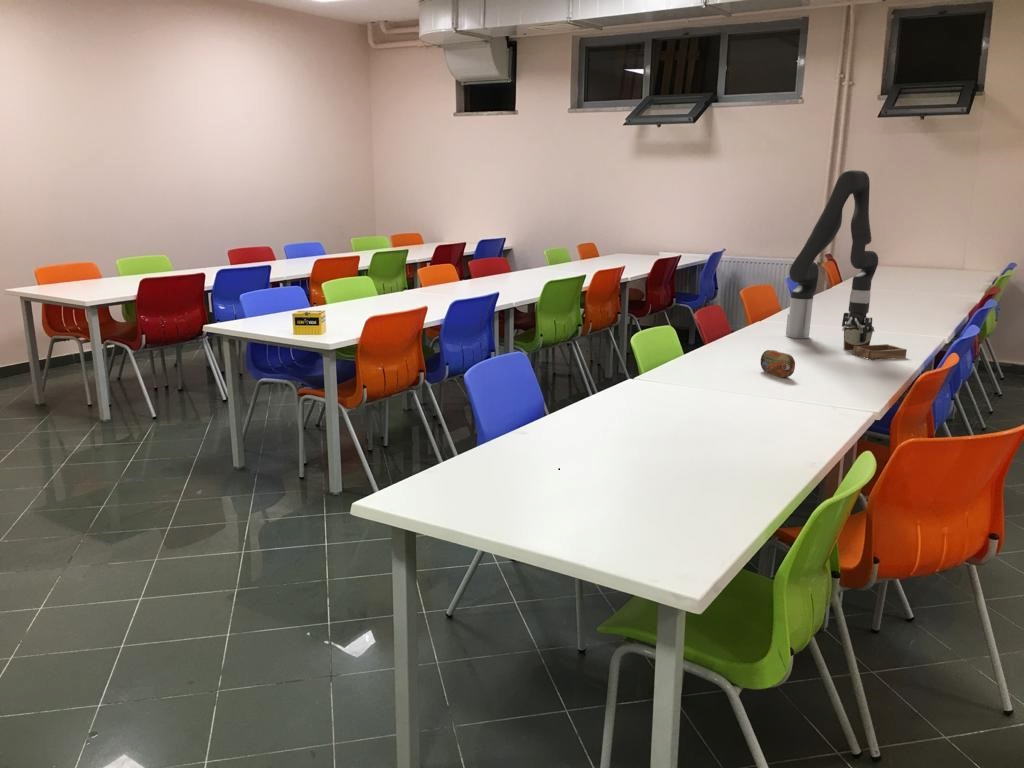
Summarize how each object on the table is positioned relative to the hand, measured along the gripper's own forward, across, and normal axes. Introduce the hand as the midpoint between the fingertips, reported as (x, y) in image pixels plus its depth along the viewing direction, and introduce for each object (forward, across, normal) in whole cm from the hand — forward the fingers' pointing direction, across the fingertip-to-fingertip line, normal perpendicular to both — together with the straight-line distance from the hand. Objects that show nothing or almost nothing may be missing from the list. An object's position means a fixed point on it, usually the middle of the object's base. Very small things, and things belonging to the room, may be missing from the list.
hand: (854, 340), depth 324 cm
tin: (+4, +29, -58) cm, 65 cm away
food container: (+4, 0, 0) cm, 4 cm away
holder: (+4, +14, 0) cm, 14 cm away
